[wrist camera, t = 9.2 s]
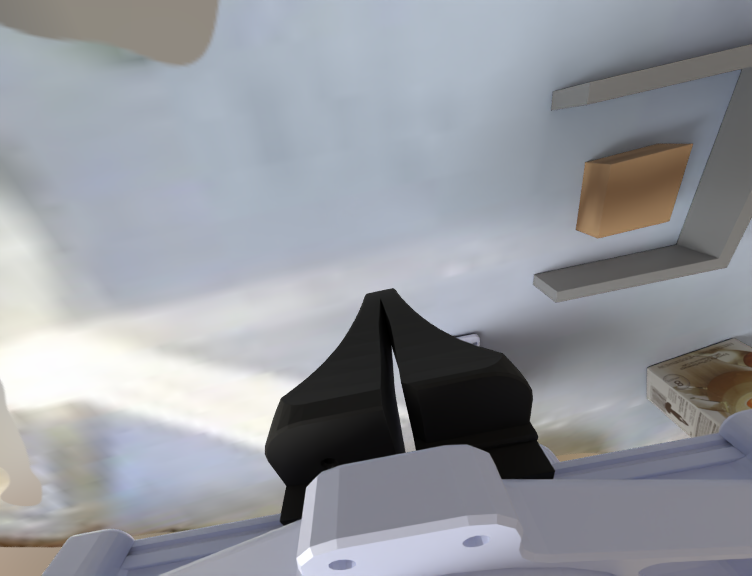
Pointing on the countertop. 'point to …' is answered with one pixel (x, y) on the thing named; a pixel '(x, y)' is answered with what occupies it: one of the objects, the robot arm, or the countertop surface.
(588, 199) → the walnut tile
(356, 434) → the robot arm
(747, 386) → the coffee box
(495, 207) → the countertop surface
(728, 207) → the grey u-shaped bracket
